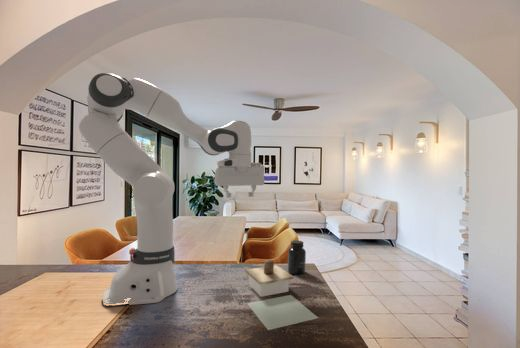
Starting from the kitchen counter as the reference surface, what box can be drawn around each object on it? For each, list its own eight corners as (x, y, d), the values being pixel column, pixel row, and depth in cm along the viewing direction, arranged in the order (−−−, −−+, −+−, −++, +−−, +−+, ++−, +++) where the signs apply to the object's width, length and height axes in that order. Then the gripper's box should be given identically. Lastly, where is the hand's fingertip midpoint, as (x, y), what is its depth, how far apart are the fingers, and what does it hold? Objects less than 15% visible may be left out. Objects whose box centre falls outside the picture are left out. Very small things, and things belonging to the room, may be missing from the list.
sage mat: (268, 331, 71) (268, 330, 71) (246, 304, 84) (246, 303, 84) (318, 319, 76) (318, 317, 76) (290, 296, 90) (290, 294, 90)
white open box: (260, 298, 89) (260, 283, 89) (248, 286, 98) (249, 272, 98) (288, 293, 93) (288, 278, 93) (274, 282, 102) (274, 268, 102)
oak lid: (260, 285, 87) (260, 269, 87) (245, 272, 98) (245, 258, 98) (293, 278, 92) (293, 264, 92) (276, 267, 103) (276, 254, 103)
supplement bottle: (305, 276, 107) (305, 244, 107) (287, 274, 109) (287, 243, 108) (305, 269, 114) (306, 240, 114) (288, 268, 115) (289, 239, 115)
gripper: (260, 162, 120) (260, 195, 120) (213, 162, 111) (213, 197, 112) (267, 162, 114) (266, 197, 114) (217, 161, 106) (217, 198, 106)
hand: (239, 197), depth 113 cm, fingers open, 8 cm apart
